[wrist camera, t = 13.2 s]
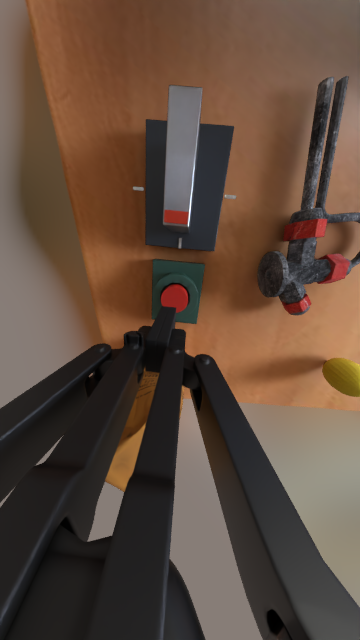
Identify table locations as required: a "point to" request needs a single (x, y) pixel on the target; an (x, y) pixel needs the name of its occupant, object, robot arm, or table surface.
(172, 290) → the button
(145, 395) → the coffee package
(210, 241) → the base
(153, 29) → the table surface
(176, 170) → the tap lever
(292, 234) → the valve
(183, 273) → the drain button box
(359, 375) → the lemon
